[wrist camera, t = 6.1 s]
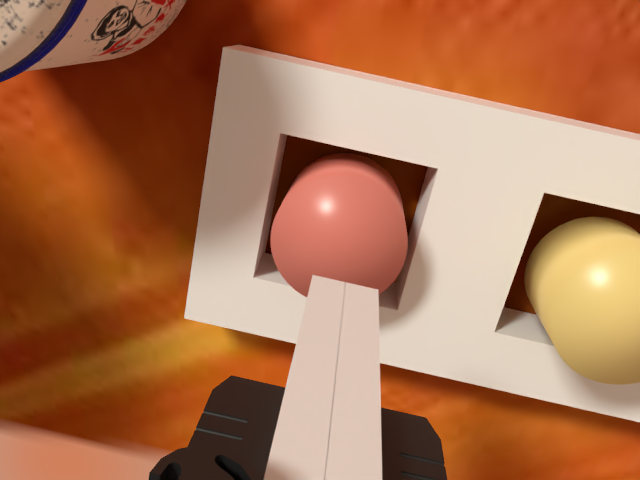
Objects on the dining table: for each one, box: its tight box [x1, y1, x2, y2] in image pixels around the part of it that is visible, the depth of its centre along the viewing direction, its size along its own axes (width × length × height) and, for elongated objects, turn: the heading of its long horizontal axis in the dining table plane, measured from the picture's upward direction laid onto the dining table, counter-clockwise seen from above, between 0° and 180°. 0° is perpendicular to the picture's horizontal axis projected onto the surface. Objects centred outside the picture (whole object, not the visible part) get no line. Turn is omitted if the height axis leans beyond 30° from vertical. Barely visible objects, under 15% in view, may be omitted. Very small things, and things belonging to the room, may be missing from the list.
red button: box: [270, 153, 408, 297], centre depth 21 cm, size 4×4×4 cm
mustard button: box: [524, 217, 640, 385], centre depth 20 cm, size 4×4×4 cm
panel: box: [184, 45, 640, 422], centre depth 22 cm, size 28×10×2 cm, turn 78°
